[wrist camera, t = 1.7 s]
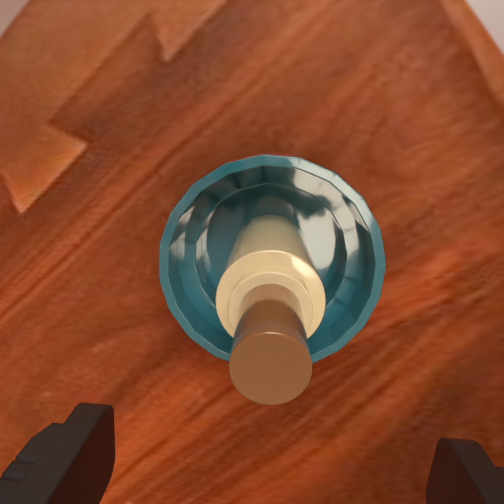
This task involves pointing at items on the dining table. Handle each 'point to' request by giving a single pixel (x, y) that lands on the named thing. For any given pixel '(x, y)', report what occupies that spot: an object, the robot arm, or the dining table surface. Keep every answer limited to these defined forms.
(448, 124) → the dining table surface
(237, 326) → the stoneware bottle
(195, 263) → the bowl
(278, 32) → the dining table surface
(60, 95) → the dining table surface
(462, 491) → the robot arm
